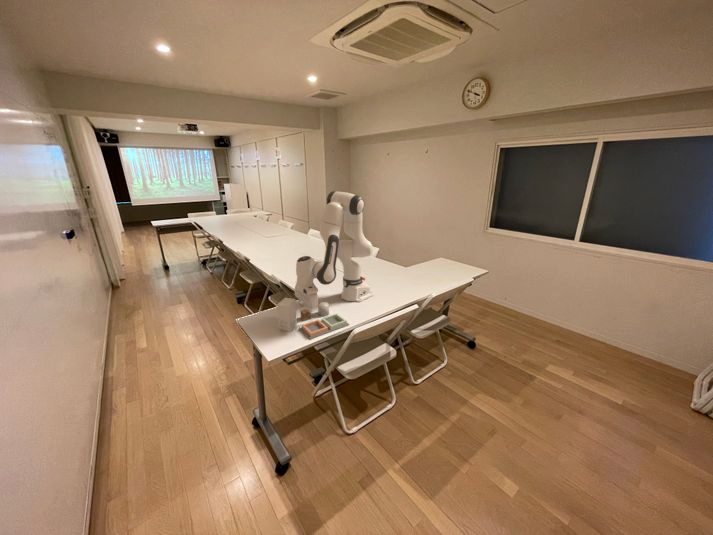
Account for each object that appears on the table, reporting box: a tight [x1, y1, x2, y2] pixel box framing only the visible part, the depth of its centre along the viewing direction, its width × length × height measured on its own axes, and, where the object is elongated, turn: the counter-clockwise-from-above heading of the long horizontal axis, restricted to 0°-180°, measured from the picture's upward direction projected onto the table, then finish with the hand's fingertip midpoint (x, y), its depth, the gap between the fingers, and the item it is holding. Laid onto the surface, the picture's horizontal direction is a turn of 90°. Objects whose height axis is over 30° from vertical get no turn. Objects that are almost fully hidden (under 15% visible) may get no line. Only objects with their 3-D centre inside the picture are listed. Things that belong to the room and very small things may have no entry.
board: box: [299, 313, 350, 340], centre depth 148 cm, size 24×12×3 cm, turn 127°
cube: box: [299, 307, 312, 322], centre depth 155 cm, size 4×4×5 cm
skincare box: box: [277, 297, 298, 332], centre depth 145 cm, size 8×7×16 cm
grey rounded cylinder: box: [317, 301, 330, 317], centre depth 161 cm, size 6×6×6 cm
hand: (306, 309), depth 153 cm, fingers open, 8 cm apart
